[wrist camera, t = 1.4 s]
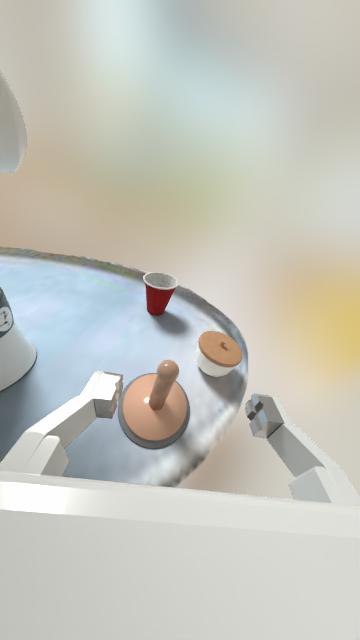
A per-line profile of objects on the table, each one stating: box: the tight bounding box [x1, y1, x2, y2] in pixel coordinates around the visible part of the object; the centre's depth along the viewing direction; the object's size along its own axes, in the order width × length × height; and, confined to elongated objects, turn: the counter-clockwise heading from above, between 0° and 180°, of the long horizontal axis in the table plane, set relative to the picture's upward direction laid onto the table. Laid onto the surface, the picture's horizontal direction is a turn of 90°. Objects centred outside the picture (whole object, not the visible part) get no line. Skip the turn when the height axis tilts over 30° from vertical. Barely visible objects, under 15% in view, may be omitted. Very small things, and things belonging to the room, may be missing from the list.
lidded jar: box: [195, 331, 242, 377], centre depth 40 cm, size 11×11×9 cm
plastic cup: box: [143, 272, 178, 315], centre depth 53 cm, size 11×11×12 cm
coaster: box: [118, 373, 190, 448], centre depth 31 cm, size 14×14×1 cm
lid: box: [123, 360, 187, 441], centre depth 28 cm, size 12×12×12 cm
